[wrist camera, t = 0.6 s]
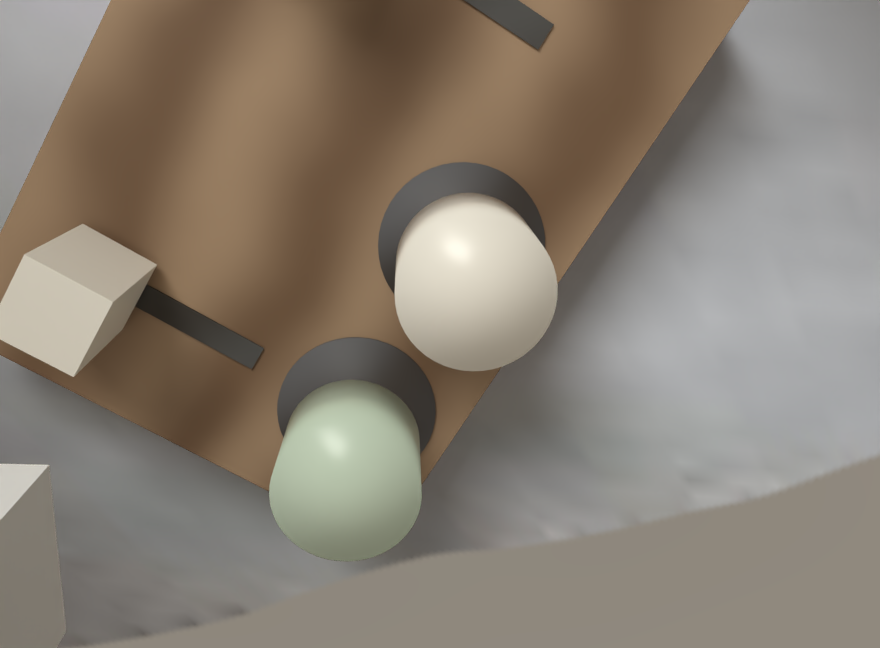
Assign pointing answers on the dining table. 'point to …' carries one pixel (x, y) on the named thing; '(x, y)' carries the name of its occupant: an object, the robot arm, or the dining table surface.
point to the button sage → (348, 472)
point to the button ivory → (473, 283)
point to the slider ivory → (72, 297)
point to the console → (330, 184)
